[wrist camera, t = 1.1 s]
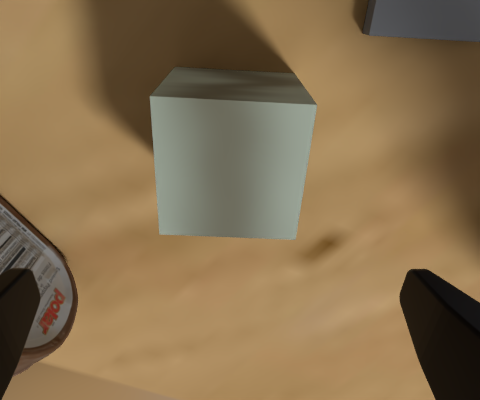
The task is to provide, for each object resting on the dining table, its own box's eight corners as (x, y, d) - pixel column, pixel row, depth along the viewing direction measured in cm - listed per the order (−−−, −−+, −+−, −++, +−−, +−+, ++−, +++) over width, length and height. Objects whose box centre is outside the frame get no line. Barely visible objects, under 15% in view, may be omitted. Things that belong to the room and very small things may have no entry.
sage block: (294, 73, 18) (317, 104, 13) (281, 179, 21) (295, 239, 16) (175, 66, 18) (149, 96, 13) (178, 174, 21) (159, 234, 16)
